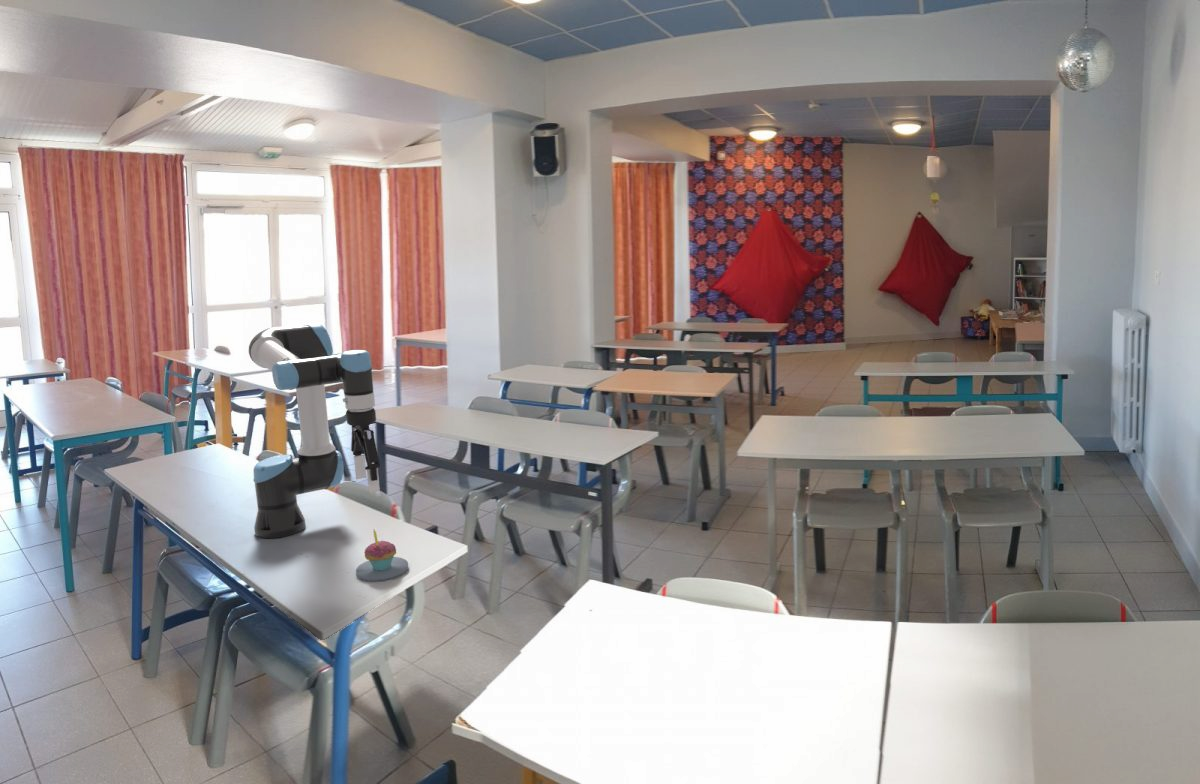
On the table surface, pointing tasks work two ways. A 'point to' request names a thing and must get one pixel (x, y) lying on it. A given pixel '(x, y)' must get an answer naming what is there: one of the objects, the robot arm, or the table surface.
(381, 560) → the cupcake
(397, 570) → the slate plate
